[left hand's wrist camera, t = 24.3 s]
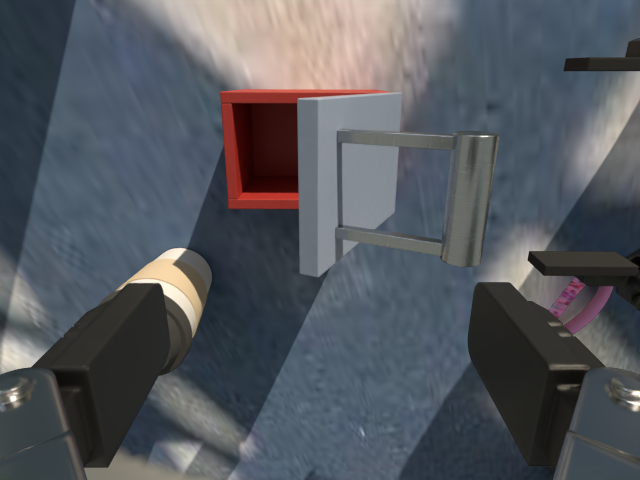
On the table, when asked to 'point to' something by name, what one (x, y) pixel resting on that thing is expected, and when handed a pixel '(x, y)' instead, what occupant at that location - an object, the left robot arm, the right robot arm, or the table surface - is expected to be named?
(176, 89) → the table surface
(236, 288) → the table surface
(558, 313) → the headband
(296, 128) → the chest
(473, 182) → the lid
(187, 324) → the coffee cup
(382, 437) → the table surface
